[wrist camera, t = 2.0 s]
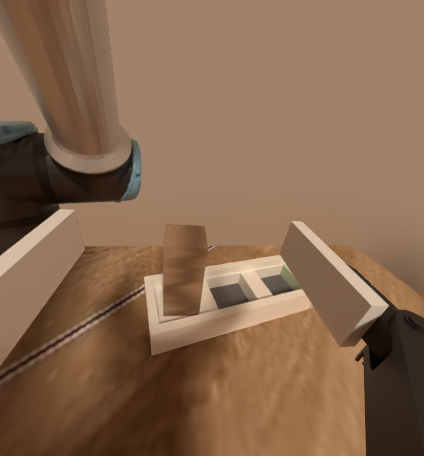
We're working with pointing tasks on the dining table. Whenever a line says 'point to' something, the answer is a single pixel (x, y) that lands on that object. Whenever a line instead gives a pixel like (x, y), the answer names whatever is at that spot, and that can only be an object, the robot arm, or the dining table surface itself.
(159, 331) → the tray
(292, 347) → the dining table surface
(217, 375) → the dining table surface
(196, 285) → the walnut block
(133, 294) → the dining table surface
